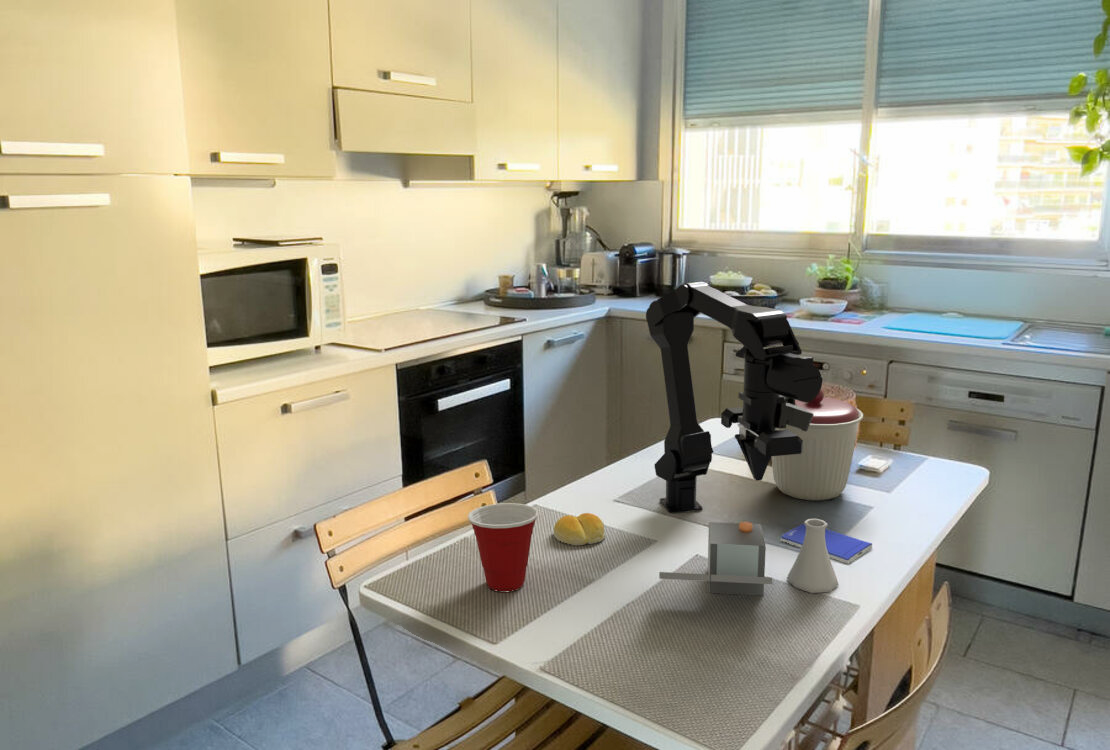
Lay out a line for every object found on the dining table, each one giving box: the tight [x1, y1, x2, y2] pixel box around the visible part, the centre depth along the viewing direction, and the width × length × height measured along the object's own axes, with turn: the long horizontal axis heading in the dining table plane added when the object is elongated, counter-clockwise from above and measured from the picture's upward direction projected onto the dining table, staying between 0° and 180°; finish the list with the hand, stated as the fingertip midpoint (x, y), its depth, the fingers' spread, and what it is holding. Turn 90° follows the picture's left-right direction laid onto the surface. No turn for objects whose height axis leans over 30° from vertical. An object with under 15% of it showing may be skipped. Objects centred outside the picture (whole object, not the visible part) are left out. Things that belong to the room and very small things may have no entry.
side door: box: [659, 571, 773, 585], centre depth 122 cm, size 1×16×8 cm
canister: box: [770, 389, 864, 501], centre depth 165 cm, size 18×18×21 cm
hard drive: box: [780, 522, 873, 564], centre depth 144 cm, size 2×8×12 cm
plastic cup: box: [467, 502, 539, 592], centre depth 131 cm, size 11×11×12 cm
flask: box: [786, 518, 839, 594], centre depth 129 cm, size 7×7×10 cm
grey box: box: [707, 520, 767, 597], centre depth 130 cm, size 9×8×9 cm
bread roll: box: [553, 512, 607, 546], centre depth 148 cm, size 8×9×4 cm
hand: (757, 479), depth 140 cm, fingers closed
